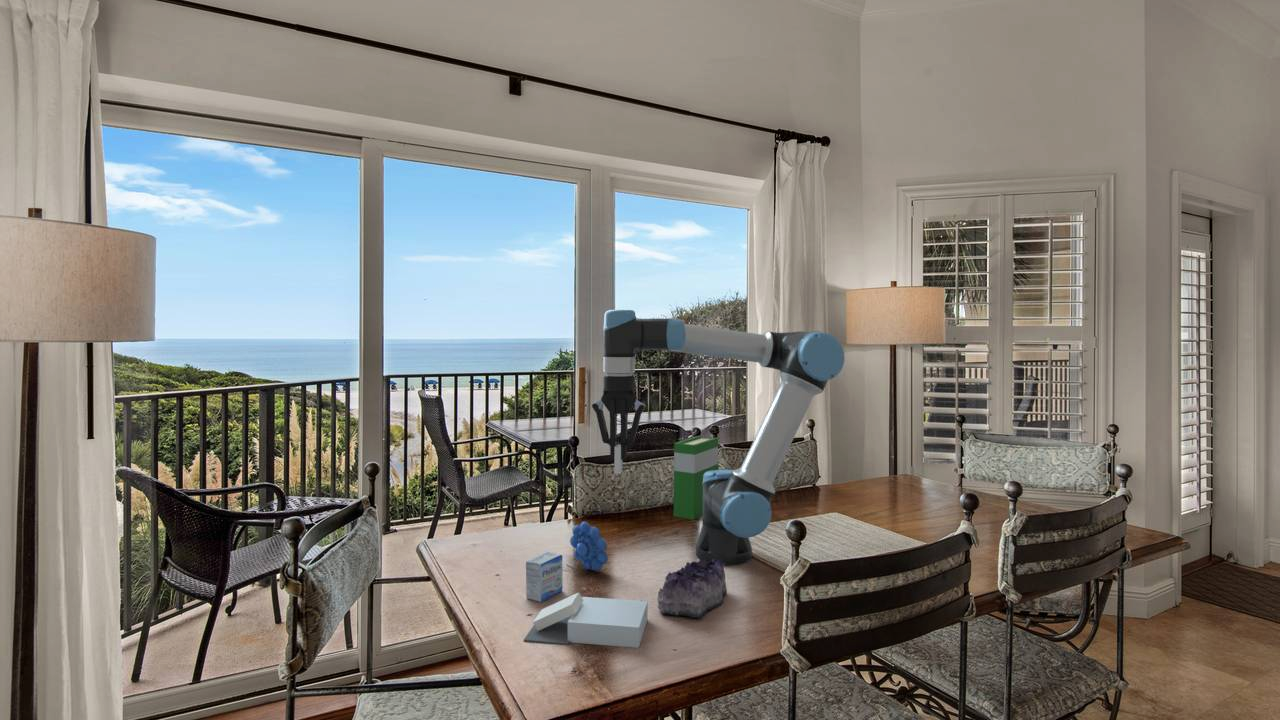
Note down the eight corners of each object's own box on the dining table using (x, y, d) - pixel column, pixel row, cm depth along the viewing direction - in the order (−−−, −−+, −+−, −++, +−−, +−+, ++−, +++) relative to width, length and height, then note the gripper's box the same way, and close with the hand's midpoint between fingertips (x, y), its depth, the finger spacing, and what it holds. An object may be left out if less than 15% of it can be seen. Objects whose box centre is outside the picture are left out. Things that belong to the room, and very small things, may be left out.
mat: (585, 613, 138) (585, 612, 138) (568, 644, 124) (568, 643, 124) (544, 610, 140) (544, 608, 140) (523, 641, 126) (523, 639, 126)
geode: (692, 583, 156) (699, 543, 155) (735, 601, 149) (742, 559, 149) (646, 609, 139) (652, 565, 138) (692, 631, 133) (699, 584, 132)
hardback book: (697, 503, 226) (698, 435, 225) (717, 507, 222) (718, 437, 221) (673, 516, 211) (674, 443, 210) (693, 519, 207) (694, 445, 206)
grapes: (559, 569, 163) (559, 522, 163) (576, 561, 169) (576, 516, 168) (596, 579, 157) (596, 531, 156) (612, 571, 162) (613, 524, 162)
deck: (647, 620, 135) (647, 601, 135) (638, 647, 123) (639, 627, 123) (582, 615, 137) (582, 596, 137) (567, 642, 126) (567, 622, 125)
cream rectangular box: (583, 600, 134) (578, 592, 134) (576, 613, 128) (571, 604, 128) (546, 618, 135) (541, 609, 135) (537, 631, 129) (532, 622, 129)
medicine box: (540, 603, 143) (540, 564, 143) (525, 598, 146) (525, 560, 145) (563, 591, 150) (563, 554, 150) (548, 586, 152) (548, 550, 152)
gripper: (648, 374, 157) (647, 470, 158) (595, 373, 159) (595, 468, 160) (643, 376, 149) (643, 477, 151) (588, 375, 151) (588, 474, 153)
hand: (618, 472), depth 155 cm, fingers closed
